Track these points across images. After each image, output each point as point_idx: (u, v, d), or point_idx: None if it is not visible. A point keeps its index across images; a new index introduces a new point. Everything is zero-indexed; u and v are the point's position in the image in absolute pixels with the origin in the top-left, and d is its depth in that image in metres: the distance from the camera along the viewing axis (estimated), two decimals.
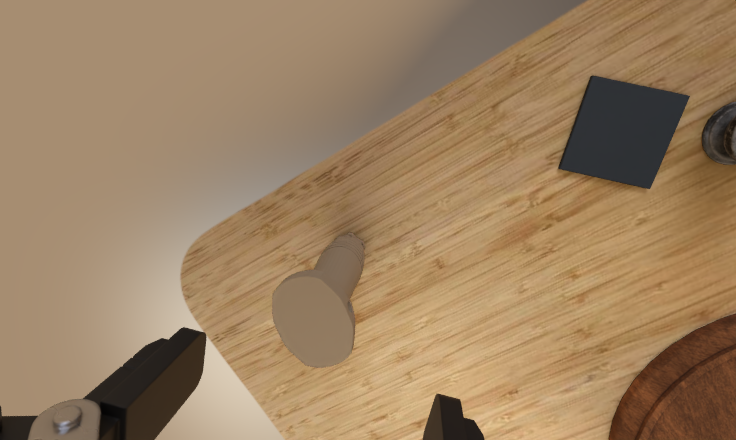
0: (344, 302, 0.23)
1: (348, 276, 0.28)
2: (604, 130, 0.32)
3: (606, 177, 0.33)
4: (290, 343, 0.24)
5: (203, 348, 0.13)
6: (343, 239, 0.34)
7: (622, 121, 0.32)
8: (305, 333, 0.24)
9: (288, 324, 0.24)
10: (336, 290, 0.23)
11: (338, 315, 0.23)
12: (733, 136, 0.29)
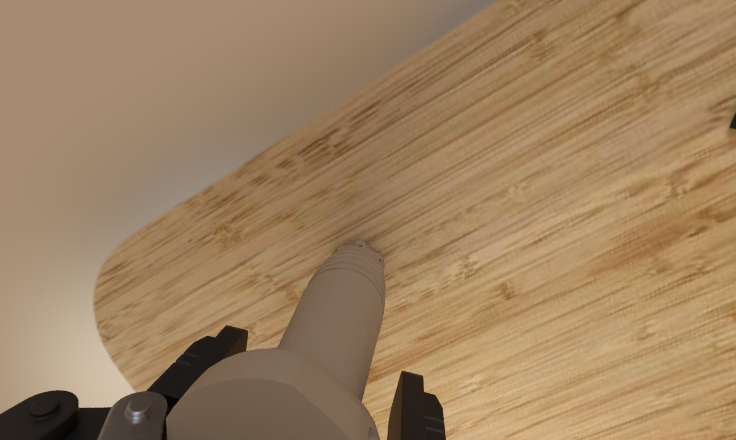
0: None
1: (361, 335, 0.14)
2: None
3: None
4: None
5: (245, 345, 0.13)
6: (349, 253, 0.19)
7: None
8: None
9: None
10: (337, 410, 0.08)
11: None
12: None
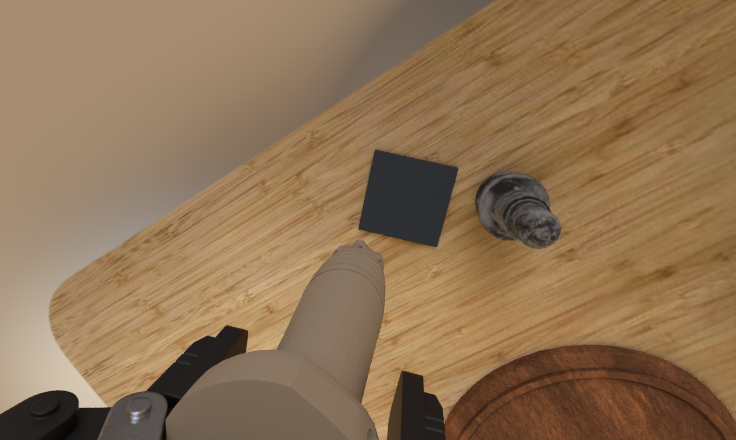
0: None
1: (361, 336, 0.14)
2: (391, 196, 0.36)
3: (398, 236, 0.37)
4: None
5: (245, 345, 0.13)
6: (349, 254, 0.19)
7: (405, 189, 0.36)
8: None
9: None
10: (337, 412, 0.09)
11: None
12: (479, 209, 0.33)
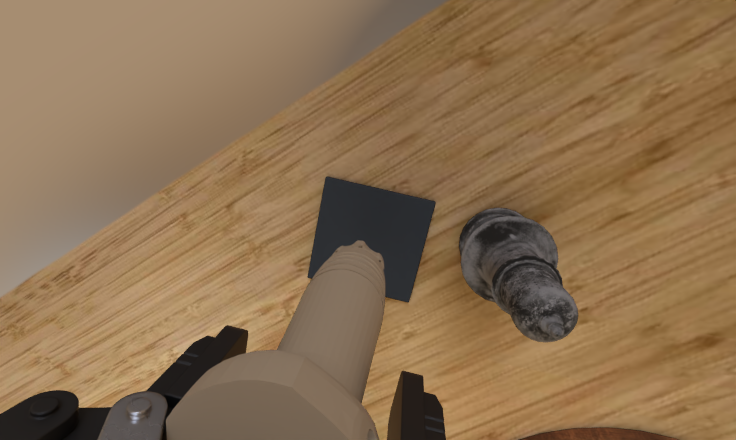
0: None
1: (361, 336, 0.14)
2: (348, 237, 0.28)
3: None
4: None
5: (245, 345, 0.13)
6: (349, 254, 0.19)
7: (366, 228, 0.27)
8: None
9: None
10: (337, 412, 0.08)
11: None
12: (461, 261, 0.24)
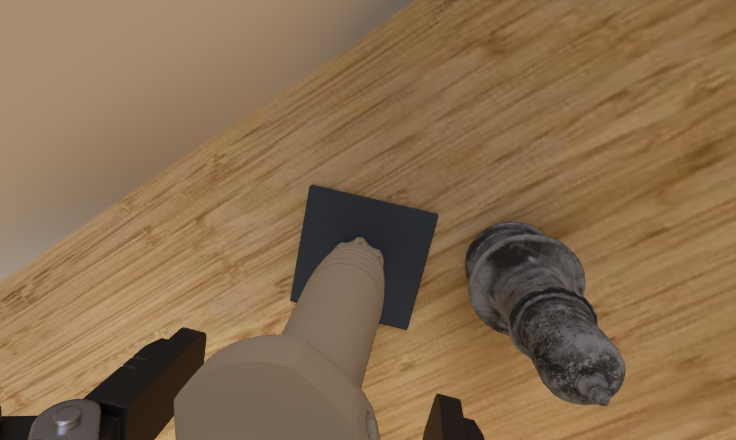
0: (358, 425, 0.09)
1: (360, 327, 0.14)
2: None
3: None
4: None
5: (203, 348, 0.13)
6: (349, 249, 0.20)
7: None
8: None
9: None
10: (336, 393, 0.09)
11: None
12: (469, 287, 0.20)
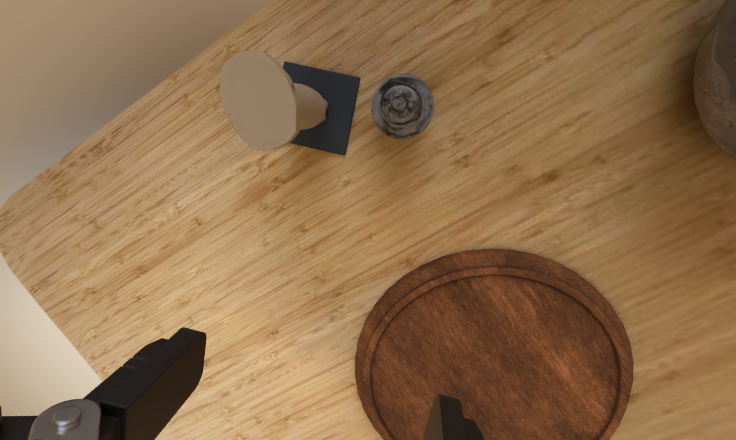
0: (287, 78, 0.25)
1: (300, 91, 0.30)
2: None
3: (309, 145, 0.40)
4: (238, 125, 0.26)
5: (203, 348, 0.13)
6: None
7: None
8: (251, 113, 0.25)
9: (235, 104, 0.25)
10: (279, 66, 0.25)
11: (281, 91, 0.25)
12: None
